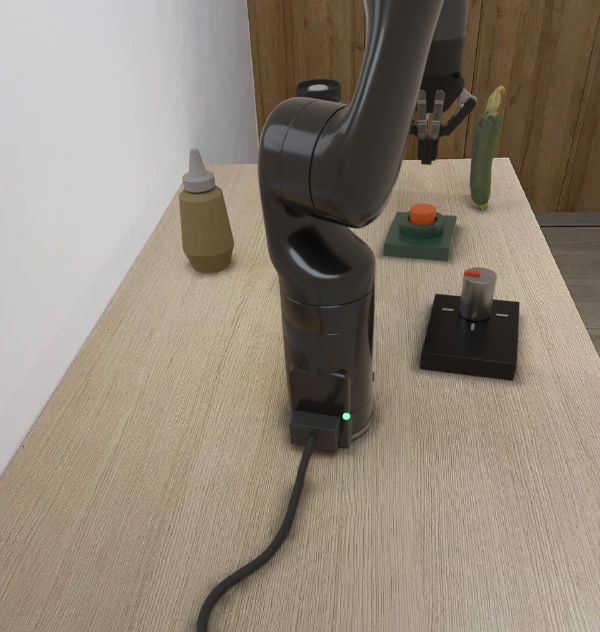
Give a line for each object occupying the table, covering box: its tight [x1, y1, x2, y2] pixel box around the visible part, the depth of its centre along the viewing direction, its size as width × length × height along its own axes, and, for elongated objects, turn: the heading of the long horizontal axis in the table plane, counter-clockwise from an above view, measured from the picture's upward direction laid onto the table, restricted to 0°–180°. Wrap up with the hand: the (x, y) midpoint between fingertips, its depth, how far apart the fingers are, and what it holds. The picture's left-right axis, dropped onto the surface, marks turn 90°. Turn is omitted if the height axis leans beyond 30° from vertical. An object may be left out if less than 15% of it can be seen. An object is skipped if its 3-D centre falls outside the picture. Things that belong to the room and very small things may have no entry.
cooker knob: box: [459, 266, 498, 321], centre depth 81 cm, size 4×4×6 cm
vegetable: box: [469, 84, 506, 211], centre depth 107 cm, size 4×4×20 cm
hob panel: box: [419, 293, 521, 382], centre depth 81 cm, size 14×11×3 cm
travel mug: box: [295, 78, 342, 103], centre depth 112 cm, size 8×8×20 cm
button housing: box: [383, 210, 458, 262], centre depth 103 cm, size 12×10×4 cm
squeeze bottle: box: [178, 148, 235, 274], centre depth 95 cm, size 8×8×18 cm
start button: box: [409, 202, 437, 225], centre depth 101 cm, size 4×4×2 cm
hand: (426, 162), depth 96 cm, fingers closed
